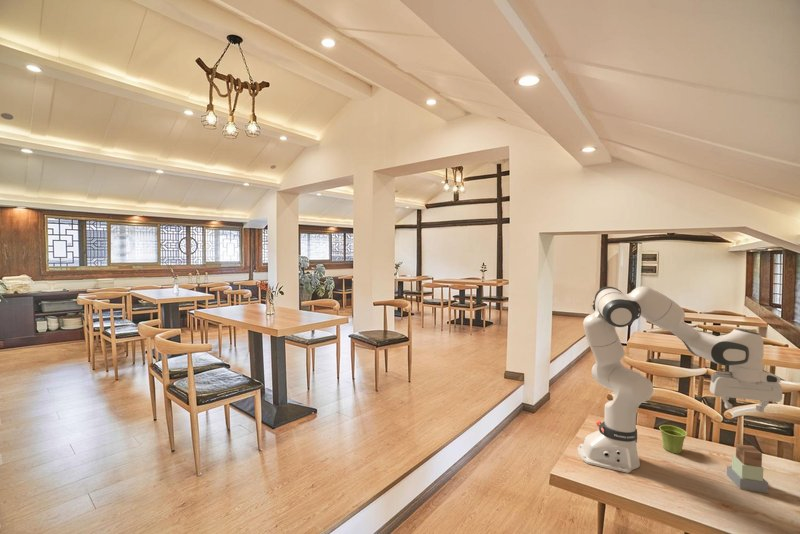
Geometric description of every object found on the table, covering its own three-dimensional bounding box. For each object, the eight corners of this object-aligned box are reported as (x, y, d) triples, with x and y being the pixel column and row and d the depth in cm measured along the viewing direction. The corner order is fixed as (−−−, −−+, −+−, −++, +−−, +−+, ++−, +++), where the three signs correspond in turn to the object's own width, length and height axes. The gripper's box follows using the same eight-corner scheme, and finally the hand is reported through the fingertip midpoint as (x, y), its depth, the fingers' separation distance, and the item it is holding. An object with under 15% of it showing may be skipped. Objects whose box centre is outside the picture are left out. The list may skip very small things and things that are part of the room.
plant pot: (691, 457, 147) (692, 436, 146) (666, 455, 148) (666, 435, 148) (678, 444, 156) (679, 425, 155) (654, 443, 158) (655, 424, 157)
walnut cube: (735, 456, 132) (736, 443, 132) (752, 459, 130) (753, 446, 130) (744, 464, 127) (744, 451, 127) (761, 467, 126) (762, 453, 125)
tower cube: (741, 478, 127) (742, 465, 127) (731, 468, 133) (732, 455, 133) (762, 481, 125) (763, 467, 125) (751, 471, 131) (752, 458, 131)
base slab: (739, 489, 127) (740, 478, 127) (726, 475, 135) (727, 465, 135) (767, 493, 125) (768, 482, 125) (752, 479, 132) (753, 469, 132)
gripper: (716, 373, 130) (714, 410, 131) (786, 378, 124) (784, 417, 125) (706, 367, 136) (705, 402, 137) (773, 372, 130) (771, 409, 131)
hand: (743, 409), depth 131 cm, fingers open, 8 cm apart
